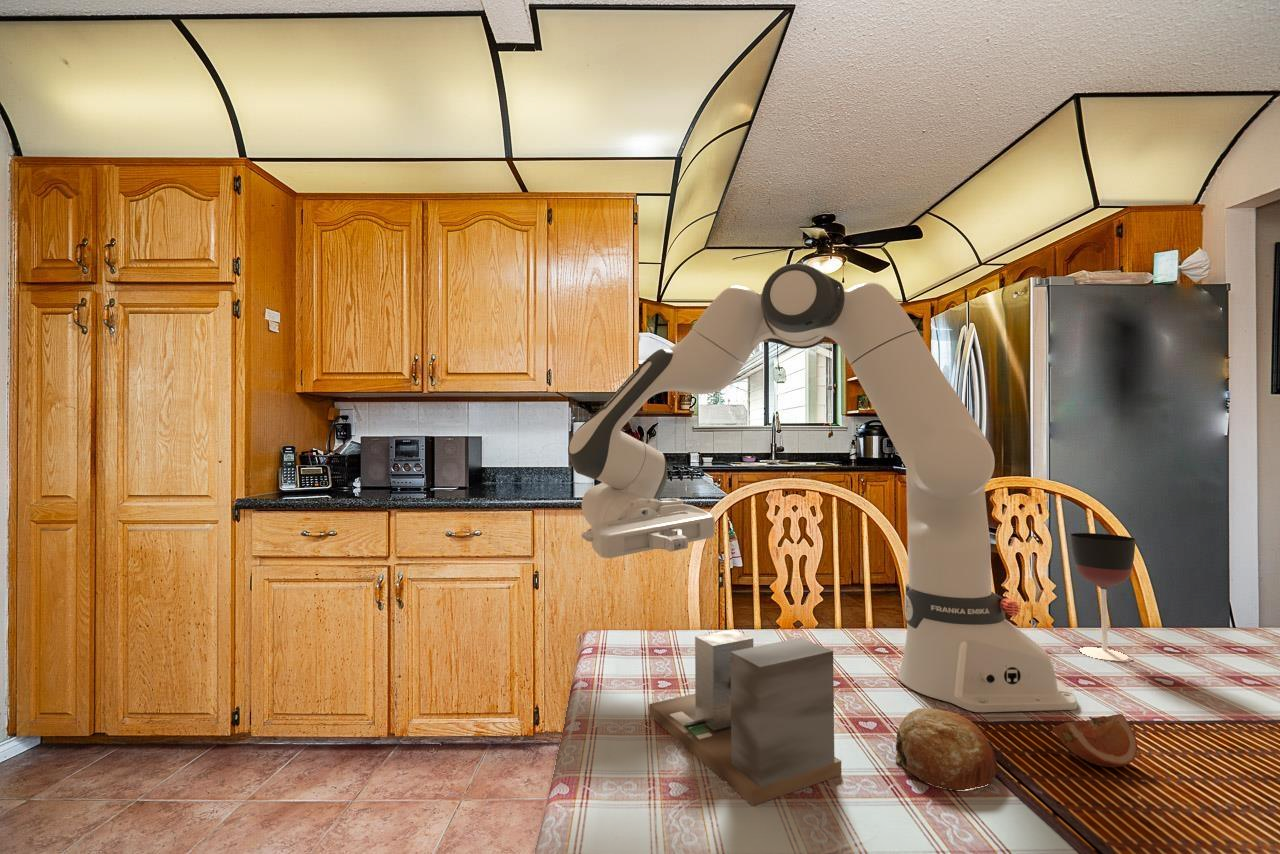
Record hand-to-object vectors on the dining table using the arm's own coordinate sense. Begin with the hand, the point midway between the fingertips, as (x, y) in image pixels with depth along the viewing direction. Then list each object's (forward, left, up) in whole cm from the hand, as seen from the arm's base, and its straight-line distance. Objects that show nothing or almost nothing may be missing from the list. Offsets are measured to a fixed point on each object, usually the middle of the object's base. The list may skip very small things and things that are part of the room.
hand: (679, 545), depth 86 cm
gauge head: (-6, +13, -19) cm, 24 cm away
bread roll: (-31, +15, -22) cm, 41 cm away
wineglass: (-71, -25, -22) cm, 78 cm away
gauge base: (-8, +13, -21) cm, 26 cm away
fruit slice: (-48, +12, -22) cm, 54 cm away
